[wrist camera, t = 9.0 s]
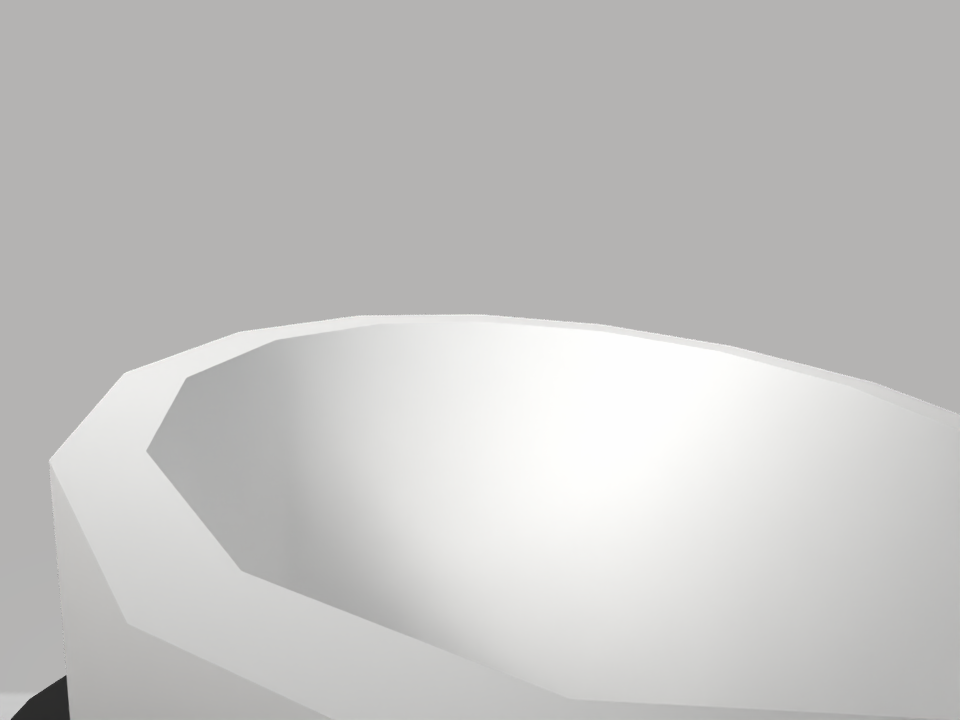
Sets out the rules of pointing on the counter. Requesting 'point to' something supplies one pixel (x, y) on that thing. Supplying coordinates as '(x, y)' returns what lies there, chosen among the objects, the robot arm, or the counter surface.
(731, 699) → the foam cup
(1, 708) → the counter surface
